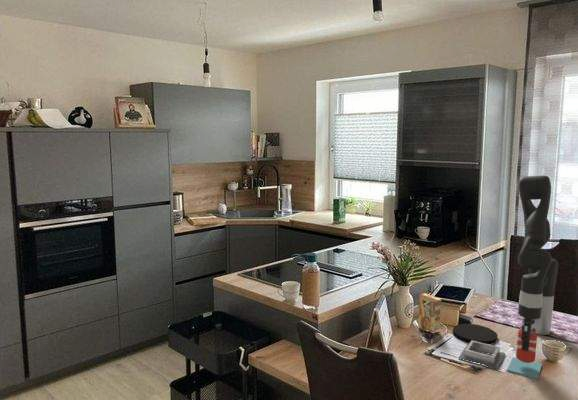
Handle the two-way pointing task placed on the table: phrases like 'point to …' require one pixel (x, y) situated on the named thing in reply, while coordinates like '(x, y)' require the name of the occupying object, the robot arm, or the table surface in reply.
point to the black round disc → (474, 333)
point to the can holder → (481, 358)
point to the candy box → (429, 312)
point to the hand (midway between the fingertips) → (526, 346)
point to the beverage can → (530, 354)
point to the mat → (524, 368)
